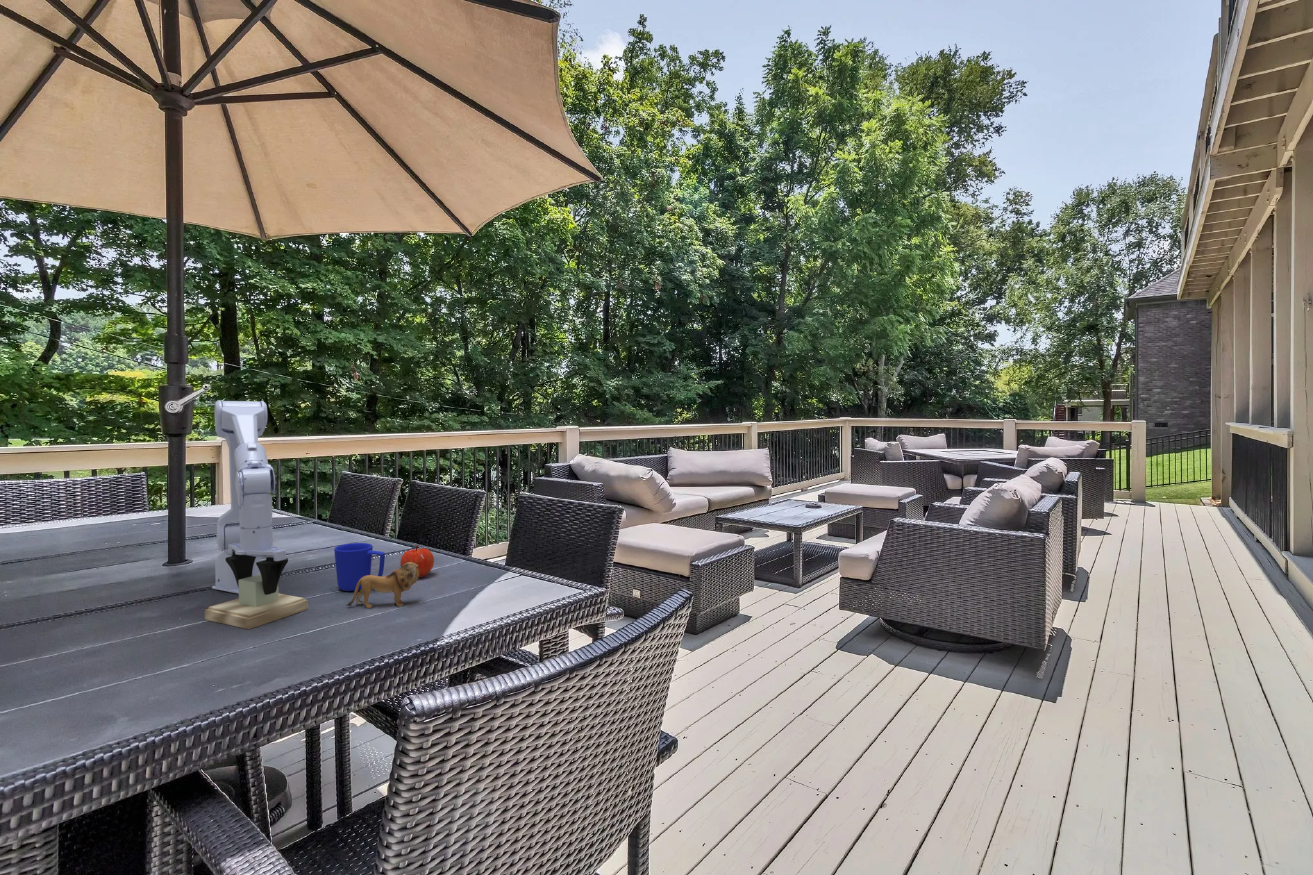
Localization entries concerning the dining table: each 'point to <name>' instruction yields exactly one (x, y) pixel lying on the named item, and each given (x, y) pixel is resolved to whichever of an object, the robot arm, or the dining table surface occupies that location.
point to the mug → (355, 564)
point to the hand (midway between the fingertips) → (257, 590)
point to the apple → (419, 560)
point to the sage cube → (254, 592)
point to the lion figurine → (387, 584)
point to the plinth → (255, 611)
